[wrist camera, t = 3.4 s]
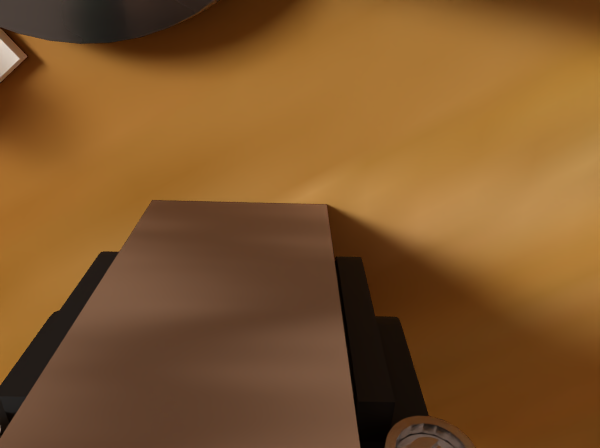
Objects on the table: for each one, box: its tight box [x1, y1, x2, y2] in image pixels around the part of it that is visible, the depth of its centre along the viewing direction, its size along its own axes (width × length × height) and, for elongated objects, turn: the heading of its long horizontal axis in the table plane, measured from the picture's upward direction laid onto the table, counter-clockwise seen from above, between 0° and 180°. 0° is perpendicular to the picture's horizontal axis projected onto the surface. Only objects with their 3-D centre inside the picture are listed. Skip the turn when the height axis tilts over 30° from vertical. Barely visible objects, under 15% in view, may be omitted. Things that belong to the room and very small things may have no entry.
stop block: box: [0, 200, 360, 448], centre depth 8 cm, size 4×4×8 cm
